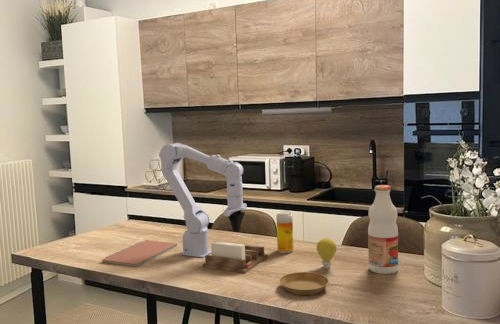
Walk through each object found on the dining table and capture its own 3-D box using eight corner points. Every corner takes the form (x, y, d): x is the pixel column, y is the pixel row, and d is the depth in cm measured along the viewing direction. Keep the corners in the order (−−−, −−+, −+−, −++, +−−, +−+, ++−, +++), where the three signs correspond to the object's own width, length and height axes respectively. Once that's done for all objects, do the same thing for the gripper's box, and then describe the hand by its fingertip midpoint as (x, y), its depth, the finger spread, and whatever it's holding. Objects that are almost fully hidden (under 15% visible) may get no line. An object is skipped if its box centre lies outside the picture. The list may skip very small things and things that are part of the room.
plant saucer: (288, 277, 148) (288, 269, 148) (333, 282, 143) (333, 274, 142) (273, 295, 135) (272, 286, 134) (322, 301, 129) (322, 292, 129)
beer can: (292, 253, 172) (291, 214, 170) (276, 253, 173) (275, 214, 172) (294, 249, 178) (293, 211, 176) (278, 248, 179) (277, 211, 177)
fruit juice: (369, 264, 157) (368, 183, 154) (398, 266, 154) (397, 183, 152) (367, 273, 148) (366, 188, 145) (398, 275, 146) (397, 188, 143)
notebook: (144, 244, 195) (144, 239, 195) (178, 247, 188) (178, 242, 188) (99, 263, 170) (99, 258, 170) (136, 268, 164) (136, 263, 163)
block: (212, 262, 162) (211, 243, 161) (215, 260, 164) (214, 241, 163) (242, 266, 156) (241, 246, 156) (245, 264, 159) (244, 244, 158)
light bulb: (338, 264, 158) (337, 236, 157) (335, 271, 152) (334, 241, 151) (318, 263, 160) (318, 235, 159) (315, 269, 154) (314, 240, 153)
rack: (202, 267, 161) (201, 256, 160) (227, 252, 177) (226, 242, 176) (245, 273, 153) (245, 261, 153) (267, 257, 169) (267, 246, 169)
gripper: (235, 199, 162) (236, 237, 163) (253, 192, 175) (254, 227, 176) (218, 198, 165) (219, 235, 166) (236, 191, 178) (238, 226, 179)
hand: (236, 231), depth 171 cm, fingers closed
